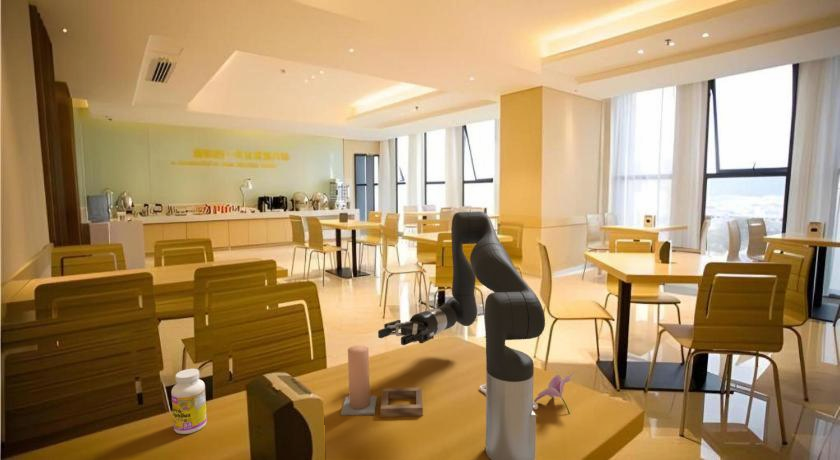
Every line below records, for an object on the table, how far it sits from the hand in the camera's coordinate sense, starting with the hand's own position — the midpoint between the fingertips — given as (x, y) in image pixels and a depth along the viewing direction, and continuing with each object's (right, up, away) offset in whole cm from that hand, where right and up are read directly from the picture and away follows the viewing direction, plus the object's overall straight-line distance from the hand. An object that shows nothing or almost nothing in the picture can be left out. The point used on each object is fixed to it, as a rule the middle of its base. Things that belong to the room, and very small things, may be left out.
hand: (390, 337), depth 112 cm
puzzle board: (+3, -15, -8) cm, 17 cm away
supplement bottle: (-44, -16, -16) cm, 50 cm away
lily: (+41, -15, -8) cm, 45 cm away
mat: (-7, -15, -8) cm, 18 cm away
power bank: (+30, -15, -4) cm, 34 cm away
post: (-7, -14, -8) cm, 18 cm away
